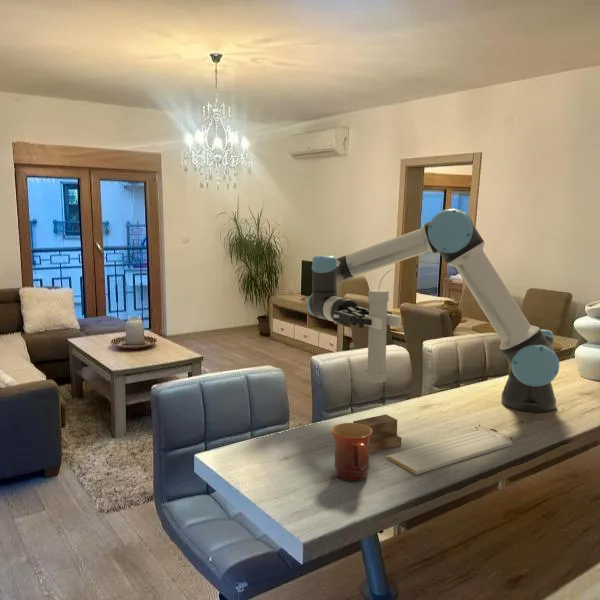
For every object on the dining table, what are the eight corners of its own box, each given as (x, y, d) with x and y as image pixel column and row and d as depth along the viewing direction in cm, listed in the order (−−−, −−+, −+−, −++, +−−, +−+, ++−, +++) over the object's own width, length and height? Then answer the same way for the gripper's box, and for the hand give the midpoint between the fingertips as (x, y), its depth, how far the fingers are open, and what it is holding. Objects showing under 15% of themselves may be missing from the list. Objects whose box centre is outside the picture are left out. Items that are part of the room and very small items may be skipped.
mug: (326, 468, 120) (326, 424, 119) (364, 464, 122) (364, 421, 121) (342, 494, 109) (342, 445, 107) (383, 489, 110) (384, 441, 109)
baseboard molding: (381, 457, 127) (416, 478, 117) (381, 445, 127) (416, 465, 117) (474, 431, 143) (512, 447, 132) (474, 421, 142) (512, 436, 132)
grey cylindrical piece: (365, 377, 147) (368, 267, 143) (388, 378, 147) (392, 267, 143) (365, 383, 142) (368, 269, 138) (390, 384, 141) (393, 269, 137)
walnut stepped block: (381, 434, 140) (381, 412, 139) (401, 445, 133) (401, 422, 132) (349, 442, 135) (349, 419, 134) (367, 453, 128) (368, 429, 127)
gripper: (367, 320, 163) (418, 333, 142) (313, 326, 154) (360, 341, 134) (367, 296, 162) (419, 305, 141) (313, 300, 153) (360, 311, 133)
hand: (390, 323), depth 138 cm, fingers closed on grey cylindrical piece, 5 cm apart
